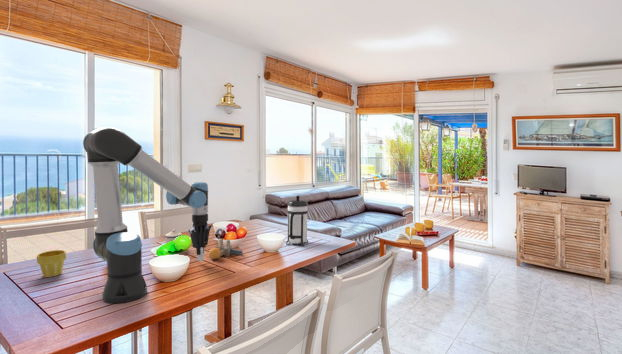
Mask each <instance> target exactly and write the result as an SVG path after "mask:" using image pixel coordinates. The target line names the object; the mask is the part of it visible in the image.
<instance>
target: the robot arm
mask: <svg viewBox="0 0 622 354" xmlns="http://www.w3.org/2000/svg"><path fill="white" fill-rule="evenodd" d="M82 146H83V149H84V150H85V152H86V155H87V156H86V157H87V163H88V165H90V166H91V167H92V169H93V170H92V171H93V181H94V192H95V200H96V201H95V202H96V212H97V213H96V215H97V227H96V228H95V229H94V239H93V242H92V248H93V251H94V253H95V254H96V256H97V257H98V258H100V259H101V260H103V261H105V262H106V268H107V270H106V271H107V279H106V282H105V284H104V288H103V291H102V300H103V302H105V303H109V304H124V303H130V302H133V301H136V300H139V299H141V298H143V297H144V296H145V295H146V294H147V293H148V286H147V283H146V281H145V280H146V279H145V277H144V275H143V271H142V270H143V269H142V268H143V267H142V266H143V265H142V264H143V263H142V262H143V261H142V255H143V253H142V246H143V244H142V238H141V236H140V235H139V234H137V233H134V232H128V226H127V225H126V224H125V223H124V222H123V211H122V210H123V209H122V198H121V188H120V176H119V175H120V174H119V165H120V164H122V165H123V166H124V167H125V166H129V167H131V168H132V169H134V170H135V171H137V172H139V174H141V175H142V176H145V178H147V179H149V181H151V182H153V183H155V184H156V185H157V186H159V187H161V188H162V189H163V190H165V191H166V193H165V194H166V195H165V198H166V202H167V204H168V205H174V206H175V205H183V206H186V207H190V208H191V214H192V215H191V221H192V227H191V229H188V233H189V235H190V239H191V245H192V248H194V249H196V253H195V254H196V256H197V257H196V258H197V259H196V261H197V262H203V261H204V254H205V248H207V245H208V243H209V238H210V237H209V236H210V232H211V228H212V225H209V224H208V221H209V214H208V213H209V187H208V186H209V185H208V183H207V182H205V181H197V182H192V183H191V185H190V184H189V183H188V182H187V181H185V180H183V179H182V178H181V177H179V176H178V175H177V174H176V173H174V172H172V171H171V170H170V169H169V168H168V167H166V166H165V165H163V164H162V163H161V162H159V161H158V160H157V159H155V158H154V157H152V156H151V155H150V154H149V153H147V152H146V151H145V150H143V147H142V145H141V144H139V143H138V142H136V141H135V140H134V139H133V138H132V137H131V136H129V135H128V134H126V133H125V132H123V131H122V130H120V129H118V128H115V127H110V126H108V127H107V126H106V127H98V128H97V127H96V128H93V129H91V130H89V131H88V132H86V134H85V136H84V138H83V140H82Z"/></svg>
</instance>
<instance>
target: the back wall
mask: <svg viewBox="0 0 622 354" xmlns="http://www.w3.org/2000/svg"><path fill="white" fill-rule="evenodd" d="M224 248H225V246H223V249H224ZM230 255H235V256H243V250H242V249H237V248H232V247H231V248H230Z"/></svg>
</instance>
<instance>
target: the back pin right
mask: <svg viewBox="0 0 622 354" xmlns="http://www.w3.org/2000/svg"><path fill="white" fill-rule="evenodd" d="M224 243H225V246H224V247H225V254H224V255H225V257H226V258H227V257H228V258H229V257H231V254H230V245H231V239H230V240H229V239H226V240H225V242H224Z"/></svg>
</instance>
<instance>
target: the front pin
mask: <svg viewBox="0 0 622 354" xmlns="http://www.w3.org/2000/svg"><path fill="white" fill-rule="evenodd" d="M230 248H232V245H231V244H230ZM223 255H225V248H224V249H222V250H221V255H220V257H223ZM220 257H219V258H220Z"/></svg>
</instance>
